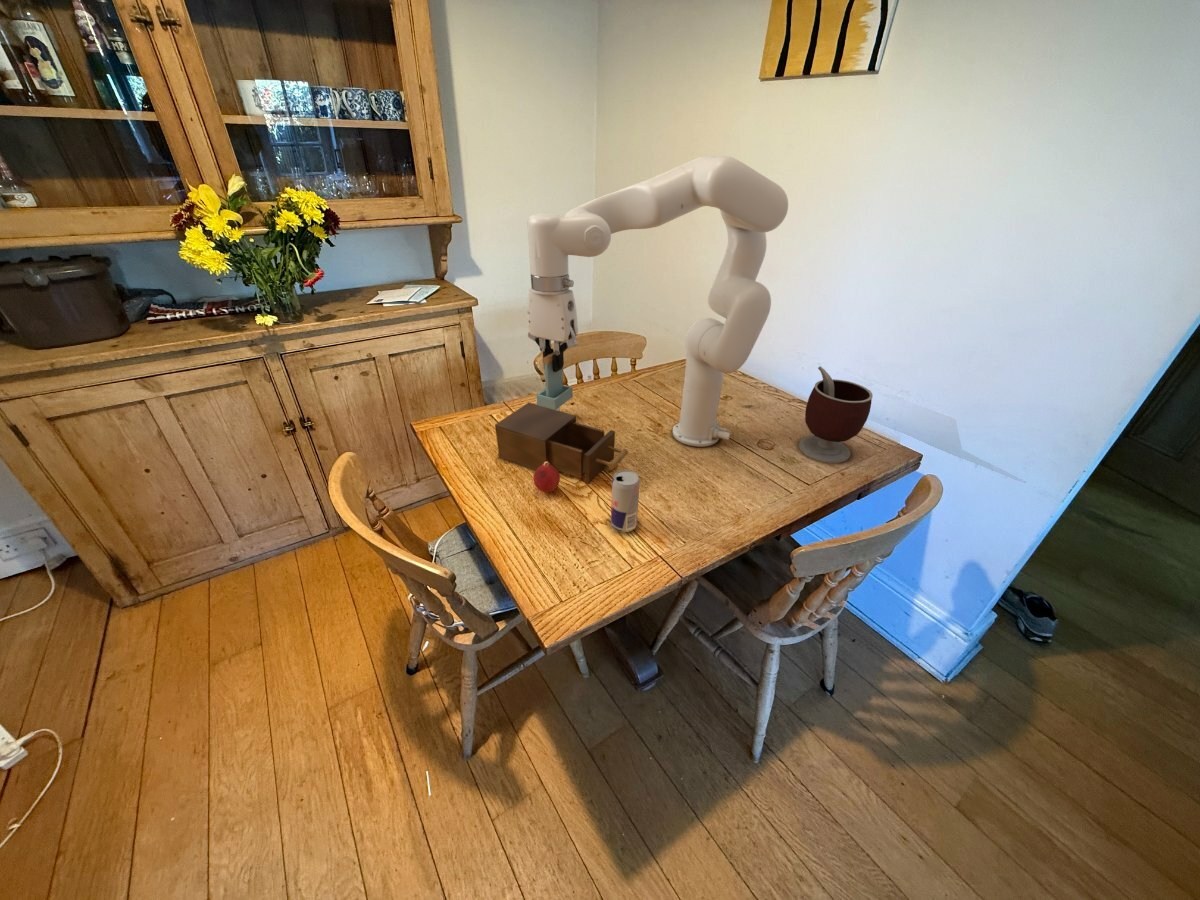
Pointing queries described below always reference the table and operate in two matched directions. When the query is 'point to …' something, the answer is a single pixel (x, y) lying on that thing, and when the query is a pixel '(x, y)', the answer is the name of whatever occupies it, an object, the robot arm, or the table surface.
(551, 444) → the drawer
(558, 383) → the caddy
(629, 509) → the energy drink
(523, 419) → the cabinet
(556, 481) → the onion
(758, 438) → the table surface
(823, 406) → the mate gourd
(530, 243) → the robot arm
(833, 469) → the table surface
